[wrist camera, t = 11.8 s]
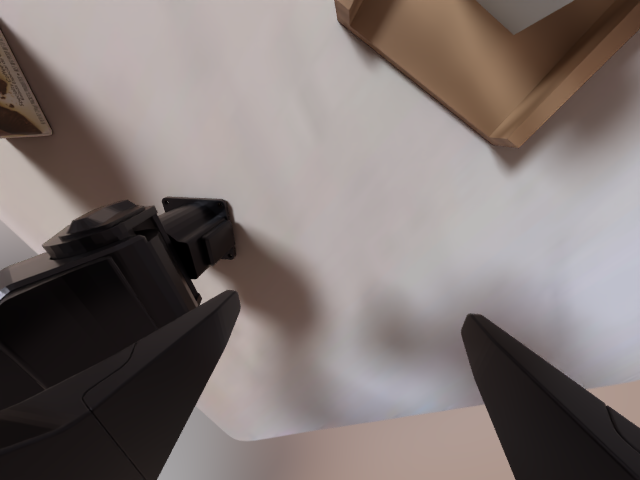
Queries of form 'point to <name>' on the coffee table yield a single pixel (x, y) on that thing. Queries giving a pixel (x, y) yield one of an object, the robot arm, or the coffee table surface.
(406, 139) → the coffee table surface
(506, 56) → the tray
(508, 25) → the tall block
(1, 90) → the coffee box
